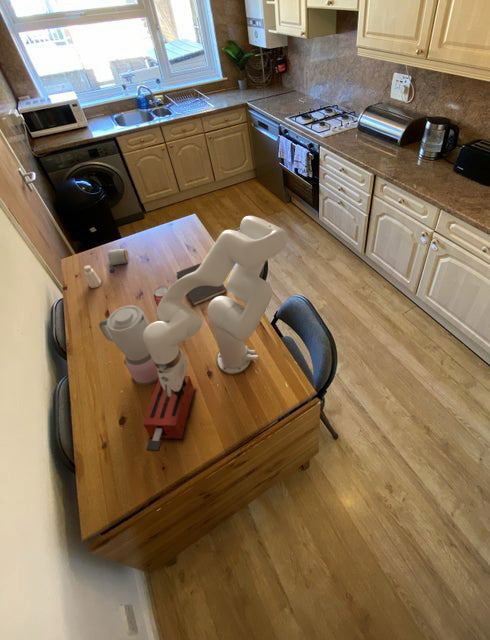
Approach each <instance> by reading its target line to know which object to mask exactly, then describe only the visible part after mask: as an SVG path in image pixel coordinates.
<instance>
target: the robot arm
mask: <svg viewBox="0 0 490 640" xmlns="http://www.w3.org/2000/svg"><path fill="white" fill-rule="evenodd" d="M288 240H289V238H288V234H287V232H286V231H285V229H283V228H281V227H279V226H277V225H275V224H274V223H271V222H269V221H267V220H265V219H263V218H261V217H257V216H255V215H246V216H245V217H243V218H242V220H241V222H240V224H239V231H238V230H235V229H226V230H224V231H222V232H221V233H220V235H219V236H218V238H217V239H216V240H215V242H214V243H213V245H212V247H211V248H210V250H209V251H208V253H207V254H206V256H205V257H204V259H203V260H202V262H200V263H201V265H200V266H199V268H198V269H197V270H196V271H194V272H192V273H189V274H187V275H185V276H183V277H182V278H180V279H179V278H178V279H177V280H176V281H174V282H173V283H172V284H171V285H170V286H169V287H168V290H167V292H166V293H165V295H164V296H163V298H162V299H161V301H160V303H159V305H158V307H157V308H156V316H157V318H158V320H157V321H154V322H151V323H149V325H148V326H147V327H146V329H145V330H144V333H143V340H144V342H145V344H146V347H147V349H148V351H149V353H150V355H151V357H152V360H153V362H154V364H155V366H156V368H157V372H158V376H159V380H160V383H161V385H162V387H163V389H164V390H165V391H166V390H167V395H168V397H173V395H174V394H175V395H180V394H184V390H183V388H182V383H183V386H186V381H185V378H184V376H186V372H187V369H188V360H187V357H186V355H185V354H184V352H183V350H182V348H180V347H179V345H178V344H180V343H182V342H184V341H186V340H188V339H190V338H191V337H193V336H195V335H196V334H198V333H199V331H200V330H201V328H202V326H203V320H202V317H201V316H200V315H199V314H197V312H195V311H194V310H192V309H191V308H190V307H188V306H187V305H186V304H184V303H183V300H184V299H185V297H186V296H187V293H188V292H189V291H191V290H192V289H194V288H196V287H199V286H207V285H208V286H221V285H222V284H223V285H224V282H225V281H226V280H227V281H226V285H225V288H226V290H227V291H228V293H229V294H230V295H232V296H233V297H234V298H236V299H237V300H239V301H241V302H242V303H244V304H245V306H243V305H242V304H241V303H239V302H237V301H236V300H235V299H233V298H231V297H229V296H227V295H219V296H216V297H214V298H212V300H211V301H210V302H209V304H208V306H207V312H206V313H207V318H208V320H209V323H210V324H211V327H212V329H213V331H214V335H215V339H216V343H217V347H218V351H219V352H218V355H217V366H218V367H219V369H220V370H221V371H222V372H224V373H225V374H230V375H231V374H232V375H233V374H240V373H241V372H243V371H245V369H247V368H248V366H250V364H251V361H254V362H255V361H257V362H258V361H259V355H258V354H256V353H257V350H256V349H250V348H249V347H248V345H246V342H245V341H247V340H248V339H250V338H251V337H252V336H253V334H254V333H255V331H256V329H257V327H258V325H259V324H260V322H261V320H262V318H263V316H264V315H265V312H266V310H267V308H268V306H269V305H270V302H271V300H272V297H273V288H272V285H271V284H270V283H269V282H268V281H266V280H265V279H263V278H261V277H260V275H261V273H262V270H263V269H264V266H265V264H266V262H267V261H269V260H270V259H272V258H274V257H275V256H277V255H279V254H280V253H281V252H282V251H284V249H285V248H286V246H287V244H288ZM228 276H229V277H228ZM227 278H228V279H227Z"/></svg>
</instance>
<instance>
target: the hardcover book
mask: <svg viewBox="0 0 490 640" xmlns="http://www.w3.org/2000/svg"><path fill="white" fill-rule="evenodd" d="M201 263H202V262H200V263H197V264H195V265H192V266H189V267H187V268H184V269H182V270H179V271H176V274H177V277H178V280H179V279H180V278H182V277H183V276H185V275H187V274H189V273H192V272H194V271H196V270H197V269H198V268H199V266H200V265H201ZM227 291H228V290H227V288H226V286H225V285H224V283H223V284H222V285H221V286H208V285H207V286H199V287H196V288H194V289H192V290H191V291H189V292H188V293H187V294H186V296H187V297H188V299H189V301H190V302H191V304H192V307H196V306H198V305H200V304H203V303H205V302H207V301H209V300H211V299H212V300H213V299H214V298H216V297H218V296H222V294H223V295H224V294H225V293H227Z"/></svg>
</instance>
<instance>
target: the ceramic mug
mask: <svg viewBox="0 0 490 640" xmlns="http://www.w3.org/2000/svg"><path fill="white" fill-rule="evenodd" d="M107 257H108V261H109V264H110V265H111V266H116V265H120V264H125V263H128V262H129V260H130V257H129V252H128V249H126V248H118V249H110V250H108V253H107Z"/></svg>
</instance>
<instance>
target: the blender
mask: <svg viewBox="0 0 490 640" xmlns="http://www.w3.org/2000/svg"><path fill="white" fill-rule="evenodd" d="M148 325H150V323H149V321H148V319H147V316H146V315H145V313H144V311H143V309H141V307H139V306H137V305H133V304H131V305H130V304H129V305H124V306H121V307H119V308H116V309H115V310H114V311H112V312H111V314H110V315H109V316H108V318H107V319H103V320H101V321H100V322H99V324H98V326H99V329H100V330H101V333H102V334H103V336H104V337H105V339H106V340H107V341H109V342H114V344H115V346H116V347H117V349H118V350H119V351H120V352H121V353H122V354H123V355H124V361H123V362H124V365H125V367H126V369H127V370H128V372H129V374H130V375H131V378H132V379H133V381H134V382H135V383H136V384H138V385H141V386H148V385H151V384H154V383H157V382H158V379H159V376H158V372H157V368H156V366H155V364H154V362H153V360H152V357H151V355H150V353H149V351H148V349H147V347H146V344H145V342H144V340H143V333H144V330H145V329H146V327H147V326H148Z"/></svg>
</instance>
